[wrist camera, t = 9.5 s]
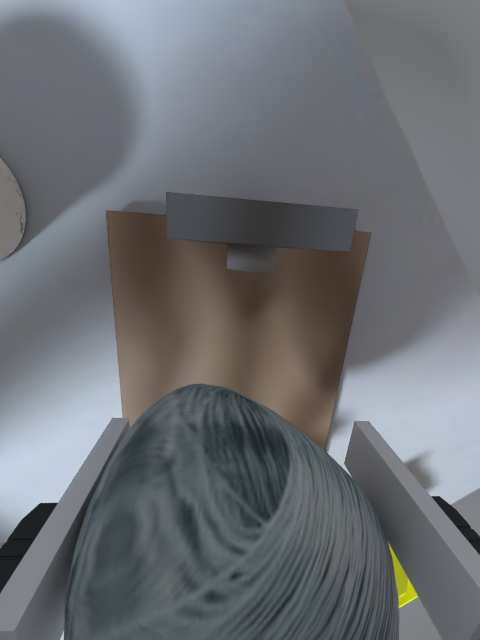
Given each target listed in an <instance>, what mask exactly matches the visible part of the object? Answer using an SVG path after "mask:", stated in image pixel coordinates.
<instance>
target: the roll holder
mask: <svg viewBox="0 0 480 640" xmlns="http://www.w3.org/2000/svg"><path fill="white" fill-rule="evenodd" d="M166 203H167V215H155V214H143V213H131V212H119V211H108V210H106V217H107V229H108V241H109V254H110V266H111V278H112V291H113V303H114V315H115V328H116V340H117V352H118V364H119V377H120V389H121V401H122V414H123V418H129V422H130V428H131V426H132V425H133V424H134V423H135V421H136V420H137V419H138V418H139V417H140V416H141V415H142V414H143V413H144V412H145V411H146V410H147V409H148V408H150V407H151V406H152V405H153V404H154V403H156V402H157V401H158V400H160V399H161V398H163V397H164V396H166V395H167V394H169V393H171V392H173V391H174V390H176V389H178V388H180V387H183V386H187V385H190V384H201V383H202V384H208V385H214V386H221V387H227V388H230V389H232V390H234V391H236V392H238V393H240V394H242V395H244V396H246V397H248V398H250V399H252V400H254V401H256V402H258V403H260V404H262V405H264V406H266V407H267V408H269V409H271V410H273V411H274V412H276V413H277V414H278V415H280V416H281V417H283V418H284V419H285V420H287V421H288V422H290V423H291V424H293V425H294V426H296V427H297V428H298V429H299V430H300V431H302V432H303V433H304V434H305V435H306V436H308V437H309V438H310V439H312V440H313V441H314V442H315V443H316V444H318V445H319V446H320V447H321V448H322V449H323V450H324V451H325V446H326V441H327V437H328V432H329V427H330V423H331V418H332V413H333V409H334V404H335V399H336V395H337V390H338V385H339V381H340V376H341V371H342V367H343V362H344V357H345V353H346V348H347V343H348V339H349V334H350V329H351V325H352V320H353V315H354V311H355V306H356V301H357V297H358V292H359V287H360V283H361V278H362V273H363V269H364V264H365V259H366V255H367V250H368V245H369V241H370V236H371V233H370V232H358V231H354V228H355V222H356V217H357V212H358V210H355V209H344V208H333V207H322V206H311V205H301V204H290V203H279V202H268V201H257V200H246V199H236V198H225V197H214V196H203V195H192V194H181V193H170V192H166Z"/></svg>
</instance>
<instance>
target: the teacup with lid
mask: <svg viewBox="0 0 480 640" xmlns="http://www.w3.org/2000/svg"><path fill="white" fill-rule="evenodd" d="M25 224H26V209H25V203H24V199H23V195H22V192H21V189H20V187H19V185H18V183H17V181H16V179H15V177H14V175H13V174H12V172H11V170H10V169H9V168H8V166H7V165H6V163H5V162H4V161H3V160H2V159H1V158H0V261H1V260H3V259H4V258H6V257H7V256H8V255H10V254H11V253H12V252H13V251H14V250H15V249H16V247H17V246H18V244H19V243H20V241H21V239H22V236H23V233H24V230H25Z"/></svg>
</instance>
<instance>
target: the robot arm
mask: <svg viewBox="0 0 480 640" xmlns="http://www.w3.org/2000/svg"><path fill="white" fill-rule="evenodd" d="M129 429H130V422H129V418H112V419H111V421H110V423H109V424H108V426H107V427H106V429H105V430H104V432H103V433H102V435H101V437H100V438H99V440H98V441H97V443H96V444H95V446H94V448H93V449H92V451H91V452H90V454H89V455H88V457H87V459H86V460H85V462H84V463H83V465H82V466H81V468H80V470H79V471H78V473H77V474H76V476H75V477H74V479H73V480H72V482H71V484H70V485H69V487H68V488H67V490H66V491H65V493H64V495H63V496H62V498H61V499H60V501H59V502H58V503H40V504H39V505H38V506H37V507H35V508H34V509H33V510H32V511H31V512H30V513H29V514H28V515H27V516H25V517H24V518H23V519H22V520H21V522H20V523H19V524H18V526H17V527H16V528H15V530H14V531H13V533H12V534H11V535H10V537H9V538H8V540H7V542H6V543H4V545H3V546H2V548H1V549H0V640H60V638H61V636H62V633H63V631H64V609H65V596H66V591H67V585H68V580H69V575H70V570H71V565H72V561H73V556H74V551H75V547H76V544H77V540H78V537H79V534H80V531H81V527H82V524H83V521H84V518H85V515H86V512H87V509H88V506H89V503H90V501H91V498H92V496H93V494H94V492H95V490H96V488H97V486H98V484H99V482H100V480H101V478H102V475H103V473H104V471H105V469H106V467H107V465H108V463H109V461H110V460H111V458H112V456H113V455H114V453H115V451H116V449H117V448H118V446H119V444H120V443H121V441H122V439H123V438H124V436H125V435H126V433H127V432H128V430H129ZM344 464H345V465H346V467H347V469H348V471H349V473H350V474H351V476H352V478H353V480H354V481H355V482H356V483H357V484H358V485H359V486H360V487H361V489H362V490H363V491H364V493H365V494H366V496H367V497H368V499H369V500H370V502H371V503H372V504H373V506H374V509H375V511H376V513H377V515H378V517H379V519H380V521H381V524H382V527H383V530H384V533H385V536H386V538H387V541H388V543H389V545H390V546H391V548H392V550H393V552H394V554H395V555H396V557H397V559H398V561H399V563H400V564H401V566H402V568H403V570H404V572H405V573H406V575H407V577H408V579H409V581H410V582H411V584H412V586H413V588H414V590H415V591H416V593H417V595H418V597H419V599H420V600H421V602H422V604H423V606H424V608H425V609H426V611H427V613H428V615H429V617H430V618H431V620H432V622H433V624H434V625H435V627H436V629H437V631H438V633H439V635H440V636H441V638H442V640H480V537H479V535H478V534H477V533H476V532H475V531H474V530H473V529H471V527H470V525H469V524H468V523H467V522H466V521H465V519H464V518H463V517H462V516H461V515H460V514H459V513H458V511H457V510H456V509H454V508H453V507H452V506H451V505H449V504H448V503H447V502H446V501H445V500H443V499H442V498H441V497H440V496H430V495H429V493H428V492H427V491H426V490H425V489H424V487H423V486H422V485H421V484H420V483H419V481H418V480H417V479H416V478H415V476H414V475H413V474H412V473H411V472H410V470H409V469H408V468H407V467H406V466H405V464H404V463H403V462H402V461H401V460H400V458H399V457H398V456H397V455H396V454H395V452H394V451H393V450H392V449H391V447H390V446H389V445H388V444H387V443H386V441H385V440H384V439H383V438H382V437H381V435H380V434H379V433H378V432H377V431H376V429H375V428H374V427H373V426H372V425H371V423H370V422H369V421H355V422H354V426H353V430H352V434H351V438H350V442H349V446H348V450H347V454H346V458H345V462H344Z"/></svg>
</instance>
